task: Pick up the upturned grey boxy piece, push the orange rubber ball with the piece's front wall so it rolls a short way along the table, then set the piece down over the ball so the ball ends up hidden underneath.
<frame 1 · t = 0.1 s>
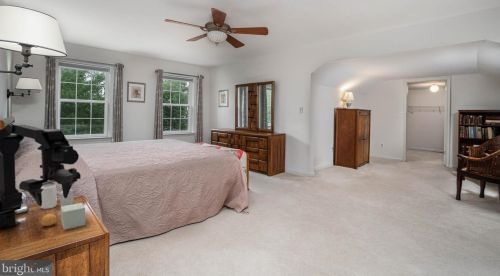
hand: (53, 201, 96), 15 cm above the nightstand, tool pointing down, fingers open, 9 cm apart
ball: (49, 219, 107), on the nightstand
eye dropper bottle: (67, 205, 131), on the nightstand
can: (48, 207, 128), on the nightstand
grey boxy piece: (73, 224, 109), on the nightstand
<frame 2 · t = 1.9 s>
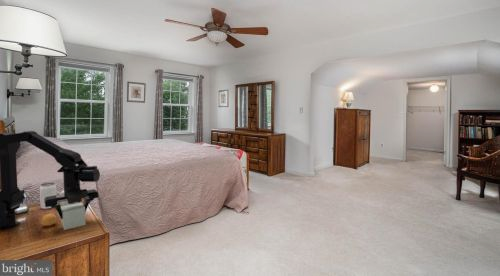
hand: (73, 216, 109), 4 cm above the nightstand, tool pointing down, fingers closed on grey boxy piece, 8 cm apart
grey boxy piece: (73, 224, 109), on the nightstand, touching gripper
everything else where it was.
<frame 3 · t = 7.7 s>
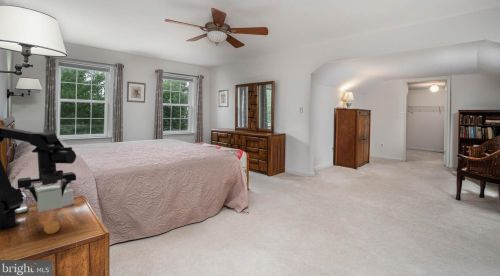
hand: (49, 199, 105), 12 cm above the nightstand, tool pointing down, fingers closed on grey boxy piece, 8 cm apart
ball: (51, 227, 101), on the nightstand
grey boxy piece: (49, 206, 105), point 9 cm above the nightstand, touching gripper
everything else where it was.
when the fingers open (4 cm above the nightstand, at t = 11.7 s): grey boxy piece stays where it is, on the nightstand.
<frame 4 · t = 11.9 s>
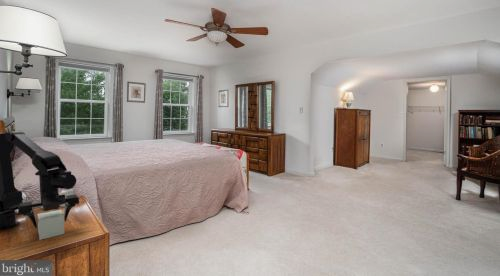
hand: (51, 224, 100), 4 cm above the nightstand, tool pointing down, fingers open, 9 cm apart
grey boxy piece: (51, 233, 101), on the nightstand
everything else where it was.
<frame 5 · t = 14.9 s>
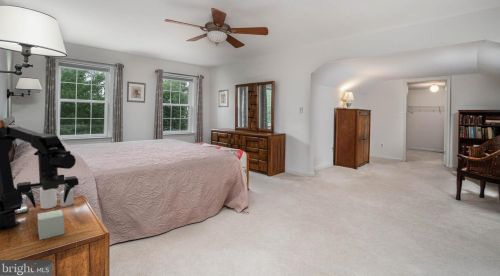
hand: (50, 205, 99), 12 cm above the nightstand, tool pointing down, fingers open, 9 cm apart
nothing on the nightstand moved.
at the end: ball 0.4 cm from the grey boxy piece (horizontally); grey boxy piece on the nightstand; ball moved 9.3 cm from its start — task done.
